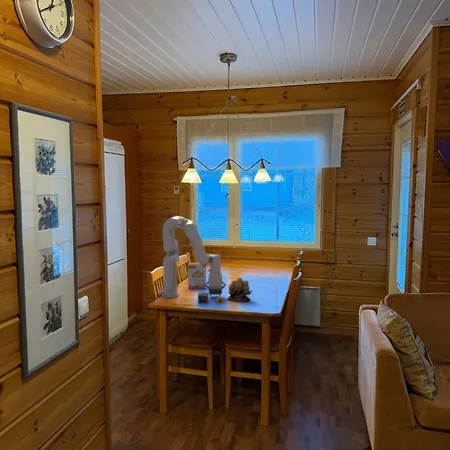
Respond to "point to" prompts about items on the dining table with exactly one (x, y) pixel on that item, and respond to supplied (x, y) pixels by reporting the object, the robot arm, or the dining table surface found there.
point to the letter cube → (219, 300)
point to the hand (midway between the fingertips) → (215, 294)
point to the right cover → (214, 291)
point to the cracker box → (196, 276)
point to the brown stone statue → (239, 291)
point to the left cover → (203, 297)
